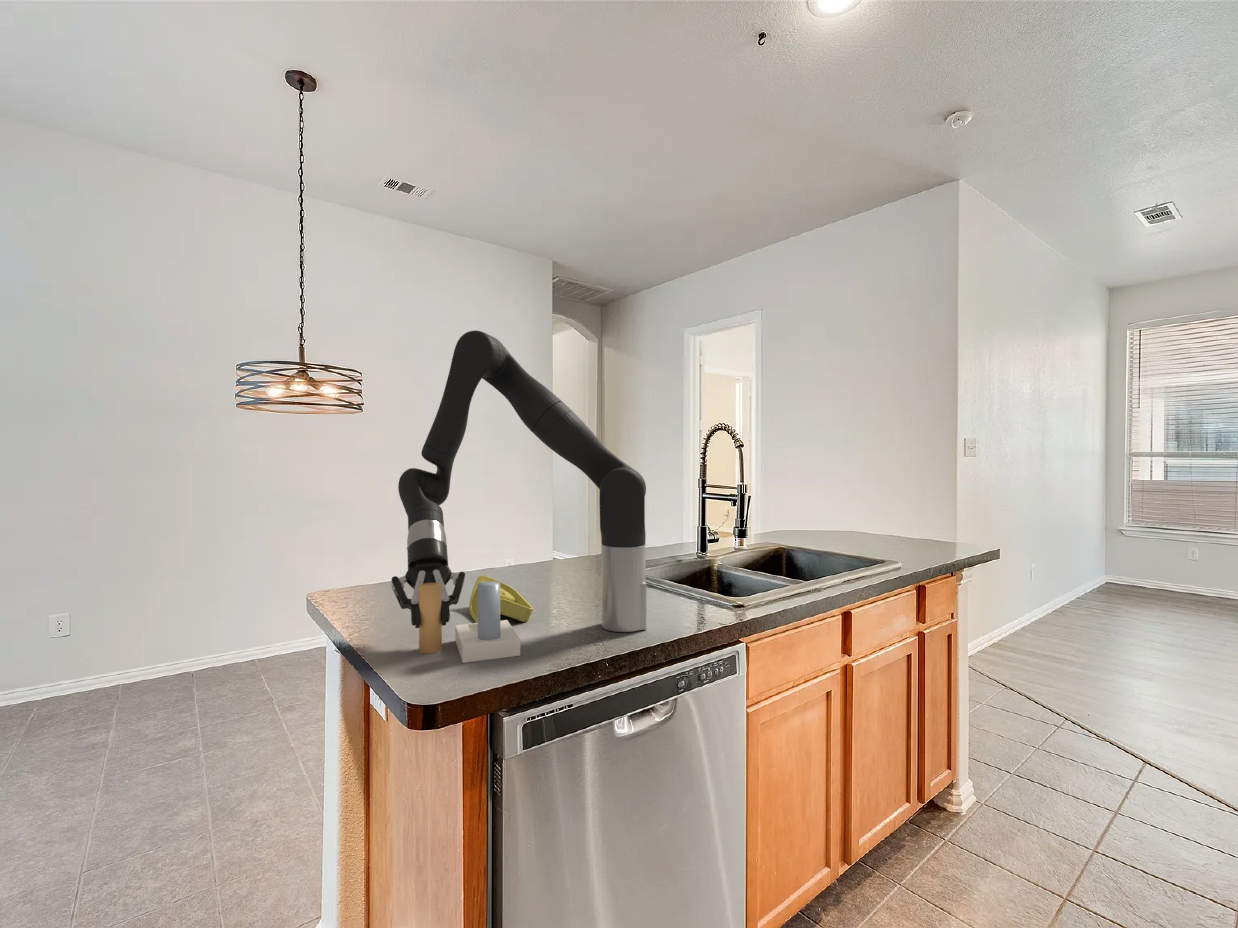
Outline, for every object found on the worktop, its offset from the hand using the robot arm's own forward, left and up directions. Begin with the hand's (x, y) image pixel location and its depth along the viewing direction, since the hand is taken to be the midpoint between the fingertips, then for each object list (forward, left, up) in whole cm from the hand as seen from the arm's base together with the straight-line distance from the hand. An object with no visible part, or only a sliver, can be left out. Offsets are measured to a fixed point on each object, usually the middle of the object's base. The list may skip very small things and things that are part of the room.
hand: (431, 624), depth 105 cm
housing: (-9, -3, -5) cm, 11 cm away
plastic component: (-8, -26, -6) cm, 28 cm away
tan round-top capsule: (+1, -2, -5) cm, 6 cm away
